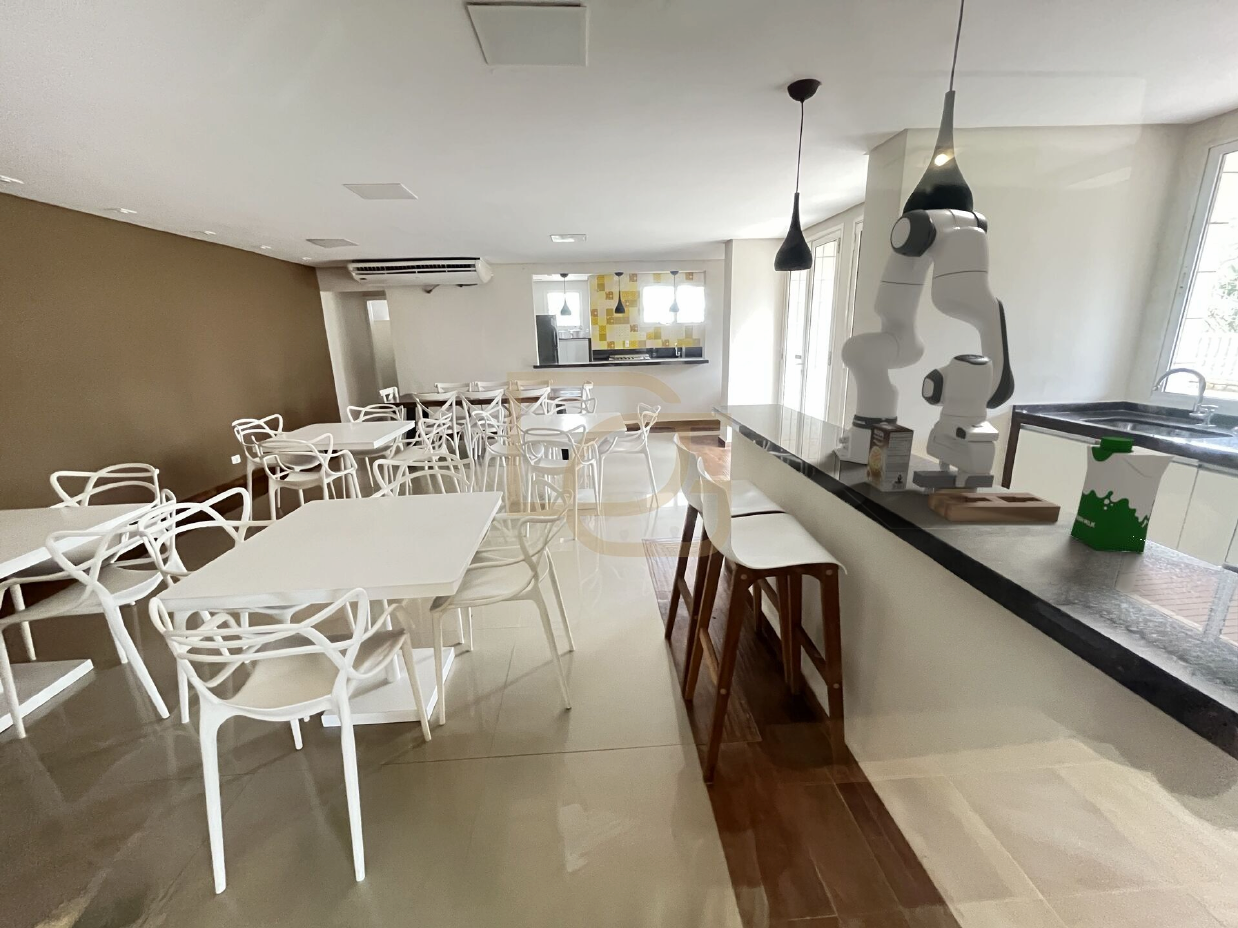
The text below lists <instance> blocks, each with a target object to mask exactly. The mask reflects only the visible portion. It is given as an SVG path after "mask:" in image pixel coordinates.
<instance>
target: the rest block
mask: <svg viewBox="0 0 1238 928" xmlns="http://www.w3.org/2000/svg"><path fill="white" fill-rule="evenodd" d="M933 493H972V488H933Z"/></svg>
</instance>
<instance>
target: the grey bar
mask: <svg viewBox="0 0 1238 928" xmlns="http://www.w3.org/2000/svg"><path fill="white" fill-rule="evenodd" d="M958 474H959V473H957V470H950V471H940V470H913V474H912V483H913V484H914V485H916V486H917V487H919V488H924V490H923V494H924V495H926V496H927V495H928V496H929V493H933V491H934V488H972V493H978V488H979V489H981V488H982V489H983V488H985V489H986V488H987V489H988V488H989V489H990V488H993V484H994V478H995V475H994V474H992V473H991V471H990V472H989V473H988V474H987V475H971V474H970V475H969V476H968V478H967V479H966V480H965V485H964V487H957V486H955V485H953V482H954V481H953V480H954V478H956V477H957V476H958Z"/></svg>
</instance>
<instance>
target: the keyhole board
mask: <svg viewBox="0 0 1238 928" xmlns="http://www.w3.org/2000/svg"><path fill="white" fill-rule="evenodd" d="M926 506H927V508H929V509H931V510H932V511H934V512H936V513H937V514H938V515H940V516H942V517H943V518H944V519H946V520H948V521H950V522H1058V520H1059V516H1060V513H1061V506H1060V505H1059V504H1056V503H1053V502H1051V501H1049V500H1046V499H1045V498H1042V497H1039V496H1037V495H1035V494H1033V493H1030V492H977V493H929V495H928V499H927V505H926Z"/></svg>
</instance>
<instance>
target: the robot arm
mask: <svg viewBox="0 0 1238 928" xmlns="http://www.w3.org/2000/svg"><path fill="white" fill-rule="evenodd" d="M988 229H989V227H988V221H987V219H986V217H985V216H984V215H983V214H981V213H979V212H976V211H971V210H967V211H966V210H965V211H964V210H959V209H954V208H953V209H951V208H943V209H927V210H926V209H925V210H924V209H915V210H911V211H907V212H904V213H903V214H902V215H900V217H899V218H898V219H897V221H896V222H895V224H894V225H893V227H892V229H891V233H890V236H889V237H890V239H889V240H890V241H889V242H890V246H891V249H892V250H891V252H890V254H889V255H888V258H887V260H886V263H885V266H884V269H883V272H882V275H881V278H880V281H879V285H878V288H877V294H876V296H875V301H874V303H873V310H874V312H875V314H876V315H877V316H878V317H879V318H880V322H881V323H880V324H881V328H880V329H881V330H880V331H879V332H878V331H877V332H863V333H860V334H857V335H853V336H851V337H849V338H848V339H846V341H845V342H844V343H843V345H842V349H841V355H840V356H841V360H842V362H843V364H844V366H845V367H847V368H848V369H849V371H850V372H851V373H852V376H853V377H854V380H855V385H856V393H857V394H856V396H857V397H856V409H855V411H856V412H855V414H854V415H853V418H852V423H851V427H850V428H848V429H847V431H845V432H844V433H843V435H842V436H839V439H838V443H839V444H840V445H841V446H840V445H839V446H834V447H833V451H834V452H835V454H836V456H837V457H838V459H839V460H840V461H845V462H846V461H848V462H852V463H857V464H863V465H865V464H866V465H868V455H869V446H870V437H871V428H872V424H894V423H896V424H899V423H898V415H897V413H898V403H899V395H900V393H899V392H900V391H899V389H898V388H897V386H895V385H894V384H893V383H892V382H891V380H890V376H889V370H898V369H903V368H907V367H909V366H912V365H913V366H914V364H917V363H918V362H919V361H920V360H922V357H923V355H924V353H925V342H924V340H923V338H922V337H921V336H920V334H919V332H918V327H917V315H918V308H919V305H920V302H921V297H922V294H923V291H924V288H925V283H926V281H927V279H928V274H929V269H930V268H931V265H932V264H933V269H932V278H931V287H930V288H931V290H930V291H931V293H930V294H931V301H932V304H933V306H934V307H935V309H936V310H938V311H939V312H940V313H942V314H943V315H945V316H948V317H950V318H953V319H956V320H959V321H961V322H963V323H967V324H969V325H970V326H972V327H974V328H975V329H976V330H977V331H978V334H979V336H980V337H979V338H980V348H981V355H978V354H969V353H968V354H959V355H956V356H953V357H952V358H951V359H950V362H949V364H947V365H944V366H942V367H939V368H934V369H933V370H930V372H928V374H926V375H925V377H924V378H923V381H922V386H921V387H922V388H921V397H922V398H923V399H924V401H925V402H926V403H928V404H929V405H930V406H935V407H940V408H941V410H940V414H939V419H938V421H936V422H935V423H934V425H933V427H932V428H931V429H930V432H929V435H928V439H927V443H926V446H925V447H926V454H927V455H928V456H930V457H933V458H935V459H936V460H938V466H939V471H951V467H950V466H952V467H954V468H956V469H957V470H956V471H957V473H959V474H958V476H957V477H956V478H954V480H953V481H954V482H953V485H955V486H957V487H964V485H965V480H966V479H967V478H968V476H969V475H970V474H971V475H987V474H988V473H989V472H990V473H991V471H992V469H993V465H994V461H995V455H996V444H995V442H997V441H998V440H999V438H1000V432H999V431H998V430H997V429H996V428H994V427H993V426H992V425H991V423H990V422H989V421H988V420H987V416H988V413H987V412H988V411H987V410H995V409H997V408H999V407H1000V406H1002V405H1004V404H1005V403H1006V402H1008V401H1009V400H1010V399H1011V398H1012V396H1013V394H1014V392H1015V388H1016V387H1015V378H1014V374H1013V371H1012V368H1011V362H1010V355H1009V354H1010V353H1009V352H1010V350H1009V343H1008V342H1009V341H1008V340H1009V339H1008V332H1007V322H1006V314H1005V308H1004V304H1003V302H1002V300H1001V299H999V298H998V297H996V296H995V295H994V294H993V292H992V290H991V289H992V288H991V286H990V283H989V271H990V270H989V269H990V249H989V241H988V236H987V234H988V232H987V231H988Z"/></svg>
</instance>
